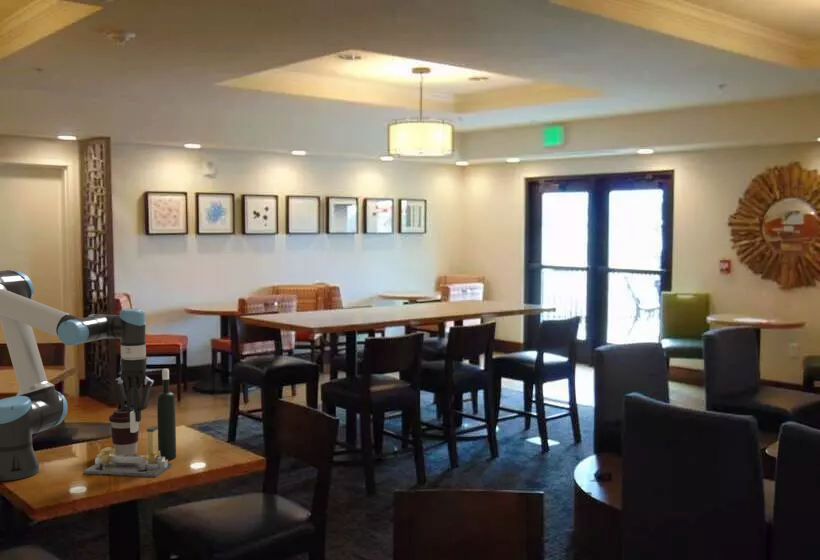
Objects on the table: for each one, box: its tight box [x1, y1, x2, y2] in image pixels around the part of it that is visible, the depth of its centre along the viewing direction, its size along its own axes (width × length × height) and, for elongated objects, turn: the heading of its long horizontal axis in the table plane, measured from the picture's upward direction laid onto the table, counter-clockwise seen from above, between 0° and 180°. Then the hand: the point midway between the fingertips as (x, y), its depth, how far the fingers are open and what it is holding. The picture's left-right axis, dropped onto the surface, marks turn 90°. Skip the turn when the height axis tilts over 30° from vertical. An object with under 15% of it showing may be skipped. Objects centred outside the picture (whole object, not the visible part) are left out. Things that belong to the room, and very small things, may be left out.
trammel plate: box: [83, 446, 173, 478], centre depth 255 cm, size 24×11×6 cm, turn 82°
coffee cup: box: [108, 408, 139, 455], centre depth 273 cm, size 10×10×15 cm
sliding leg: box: [142, 425, 160, 469], centre depth 254 cm, size 3×8×12 cm, turn 172°
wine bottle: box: [156, 368, 177, 461], centre depth 268 cm, size 6×6×30 cm
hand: (134, 431), depth 255 cm, fingers closed
